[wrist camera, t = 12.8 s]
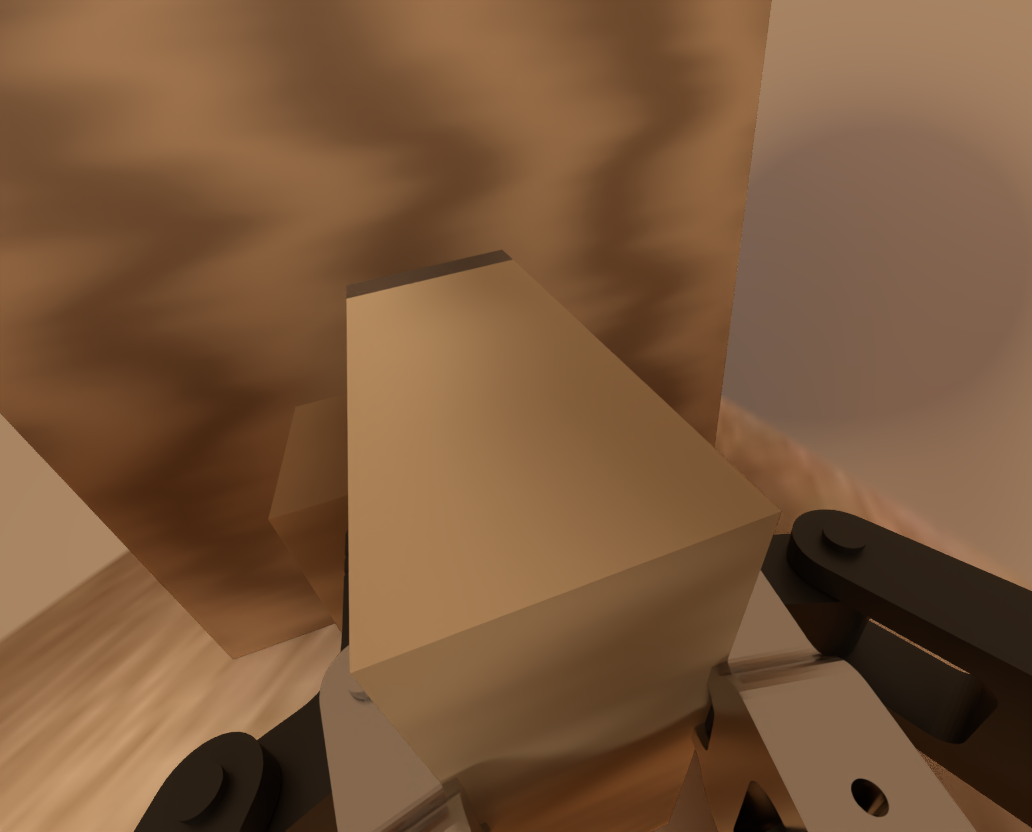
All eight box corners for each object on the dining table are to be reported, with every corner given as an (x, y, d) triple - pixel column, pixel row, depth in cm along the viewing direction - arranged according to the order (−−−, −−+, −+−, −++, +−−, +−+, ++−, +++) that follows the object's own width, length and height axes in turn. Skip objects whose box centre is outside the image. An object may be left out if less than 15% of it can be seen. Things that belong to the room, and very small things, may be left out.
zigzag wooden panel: (195, 811, 14) (-1557, -274, 3) (243, 616, 19) (-261, 14, 8) (791, 570, 17) (1057, -291, 6) (683, 466, 23) (729, -84, 12)
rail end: (529, 891, 10) (350, 672, 3) (457, 581, 16) (346, 285, 9) (668, 823, 10) (782, 510, 4) (545, 549, 16) (502, 249, 10)
